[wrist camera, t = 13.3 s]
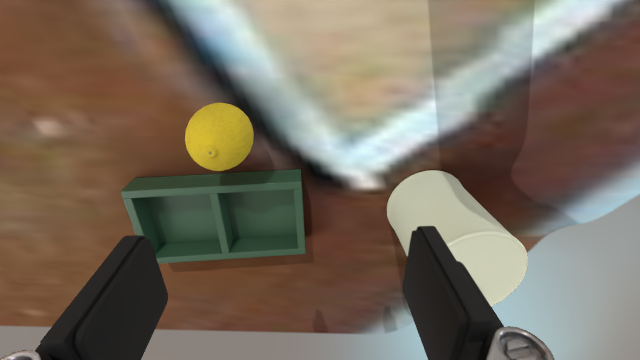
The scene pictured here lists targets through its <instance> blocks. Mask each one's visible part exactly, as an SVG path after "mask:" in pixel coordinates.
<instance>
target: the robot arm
mask: <svg viewBox="0 0 640 360" xmlns="http://www.w3.org/2000/svg"><path fill="white" fill-rule="evenodd" d="M403 291H404V295H405V297H406V300H407V303H408V306H409V308H410V311H411V314H412V317H413V319H414V322H415V325H416V327H417V330H418V333H419V336H420V338H421V341H422V343H423V346H424V349H425V352H426V355H427V357H428V360H554V357H553V355H552V353H551V351H550V350H549V349H548V347H547V346H546V345H545V344H544V343H543V342H542V341H541V340H540V339H538V338H537V337H536V336H535V335H533V334H531V333H530V332H528V331H526V330H523V329H520V328H517V327H510V326H509V327H504V326H503V324H502V323H501V321H500V320H499V318H498V317H497V315H496V313H495V312H494V310H493V309H492V307H491V306H490V304H489V303H488V301H487V300H486V298H485V296H484V295H483V293H482V292H481V290H480V289H479V287H478V286H477V284H476V283H475V281H474V279H473V278H472V276H471V275H470V273H469V272H468V270H467V269H466V267H465V266H464V265H463V263H461V262H460V261H456V259H455V257H454V256H453V254H452V253H451V251H450V249H449V248H448V246H447V245H446V243H445V241H444V240H443V238H442V237H441V235H440V233H439V232H438V230H437V229H436V227H435V226H418V227H417V229H416V230H413V231H412V234H411V239H410V245H409V251H408V257H407V263H406V269H405V275H404V281H403ZM167 300H168V293H167V290H166V287H165V284H164V281H163V277H162V274H161V271H160V268H159V265H158V262H157V259H156V256H155V252H154V249H153V246H152V243H151V241H150V240H149V239H146V237H145V236H143V235H138V236H125V237H123V238H122V239H121V241H120V242H119V243H118V244H117V246H116V247H115V248H114V249H113V251H112V252H111V253H110V255H109V256H108V257H107V258H106V260H105V261H104V262H103V263H102V265H101V266H100V267H99V268H98V270H97V271H96V272H95V273H94V275H93V276H92V277H91V278H90V280H89V281H88V282H87V284H86V285H85V286H84V287H83V289H82V290H81V291H80V292H79V294H78V295H77V296H76V297H75V299H74V300H73V301H72V302H71V304H70V305H69V306H68V307H67V309H66V310H65V311H64V312H63V314H62V315H61V316H60V318H59V319H58V320H57V321H56V323H55V324H54V325H53V326H52V328H51V329H50V330H49V331H48V333H47V334H46V335H45V336H44V338H43V339H42V340H41V344H40V345H39V346H38V347H37V349H36V350H35V351H33V350H22V351H18V352H14V353H11V354H9V355H6V356H4V357H2V358H0V360H141V358H142V356H143V354H144V352H145V349H146V347H147V345H148V343H149V341H150V339H151V336H152V334H153V332H154V330H155V328H156V326H157V324H158V321H159V319H160V317H161V315H162V313H163V311H164V308H165V306H166V304H167Z"/></svg>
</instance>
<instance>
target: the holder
mask: <svg viewBox="0 0 640 360" xmlns="http://www.w3.org/2000/svg"><path fill="white" fill-rule="evenodd" d="M121 195H122V197H123V200H124V203H125V206H126V209H127V211H128V214H129V217H130V220H131V222H132V225H133V228H134V231H135V234H136V236H138V235H143V236H145V237H146V239H149V240H150V241H151V243H152V246H153V249H154V252H155V256H156V259H157V262H158V264H159V263H174V262H189V261H204V260H219V259H234V258H249V257H264V256H280V255H295V254H306V250H305V229H304V213H303V196H302V180H301V169H295V170H276V171H257V172H238V173H220V174H201V175H182V176H163V177H145V178H134V179H133V180H132V181H131V182H130V183H129V184H128V185H127V186H126V187H125V188H124V189H123V190H122V191H121Z"/></svg>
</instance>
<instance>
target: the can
mask: <svg viewBox="0 0 640 360" xmlns="http://www.w3.org/2000/svg"><path fill="white" fill-rule="evenodd" d="M387 217H388V220H389V222H390V224H391V226H392V227H393V228H394V230H395V232H396V234H397V236H398V238H399V240H400V242H401V244H402V246H403V248H404V250H405V253H406V255H407V257H408V251H409V245H410V239H411V234H412V231H413V230H416V229H417V227H418V226H435V227H436V229H437V230H438V232H439V233H440V235H441V237H442V238H443V240H444V241H445V243H446V245H447V246H448V248H449V249H450V251H451V253H452V254H453V256H454V257H455V259H456V261H460V262H461V263H463V265H464V266H465V267H466V269H467V270H468V272H469V273H470V275H471V276H472V278H473V279H474V281H475V283H476V284H477V286H478V287H479V289H480V290H481V292H482V293H483V295H484V296H485V298H486V300H487V301H488V303H489V304H490V306H493V305H495V304H497V303H499V302H500V301H502V300H503V299H505V298H506V297H508V296H509V295H510V294H511V293H512V292H513V291H514V290H515V289H516V288H517V287H518V286H519V284H520V283H521V281H522V280H523V278H524V276H525V274H526V271H527V267H528V255H527V252H526V250H525V248H524V246H523V245H522V243H521V242H520V241H519V240H518V239H516V238H515V237H513V236H512V235H511V234H510V233H509V232H508V231H507V230H506V229H505V228H504V227H503V226H502V225H501V224H500V223H498V222H497V221H496V220H495V219H494V218H493V217H492V216H491V215H490V214H489V213H488V212H487V211H486V210H485V209H484V208H483V207H482V206H481V205H480V204H479V203H478V202H477V201H476V200H475V199H474V198H473V197H472V196H471V195H470V194H469V193H468V192H467V191H466V190H465V189H464V188H463V186H462V184H461V183H460V182H459V181H458V179H456V178H455V177H454V176H452V175H451V174H449V173H446V172H443V171H437V170H429V171H423V172H419V173H416V174H414V175H412V176H410V177H408V178H406V179H405V180H404V181H402V182H401V183H400V184H399V185H398V186H397V187H396V188H395V190H394V191H393V192H392V194H391V196H390V198H389V201H388V204H387Z"/></svg>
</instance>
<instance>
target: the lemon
mask: <svg viewBox="0 0 640 360" xmlns="http://www.w3.org/2000/svg"><path fill="white" fill-rule="evenodd" d="M253 137H254V132H253V128H252V124H251V122H250V120H249V118H248V117H247V116H246V115H245V113H244V112H243V111H241V110H240V109H239V108H237V107H235V106H233V105H230V104H226V103H213V104H210V105H207V106H204V107H203V108H201V109H200V110H198V111H197V112H196V113H195V114H194V115H193V117H192V118H191V119H190V121H189V123H188V126H187V129H186V135H185V142H186V147H187V150H188V152H189V154H190V156H191V157H192V158H193V160H194V161H195V162H197V163H198V164H199V165H200V166H202V167H204V168H206V169H210V170H214V171H223V170H228V169H231V168H233V167H235V166H237V165H238V164H240V163H241V162H242V161H243V160H244V159H245V158H246V157H247V155H248V154H249V152H250V150H251V147H252V144H253Z"/></svg>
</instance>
